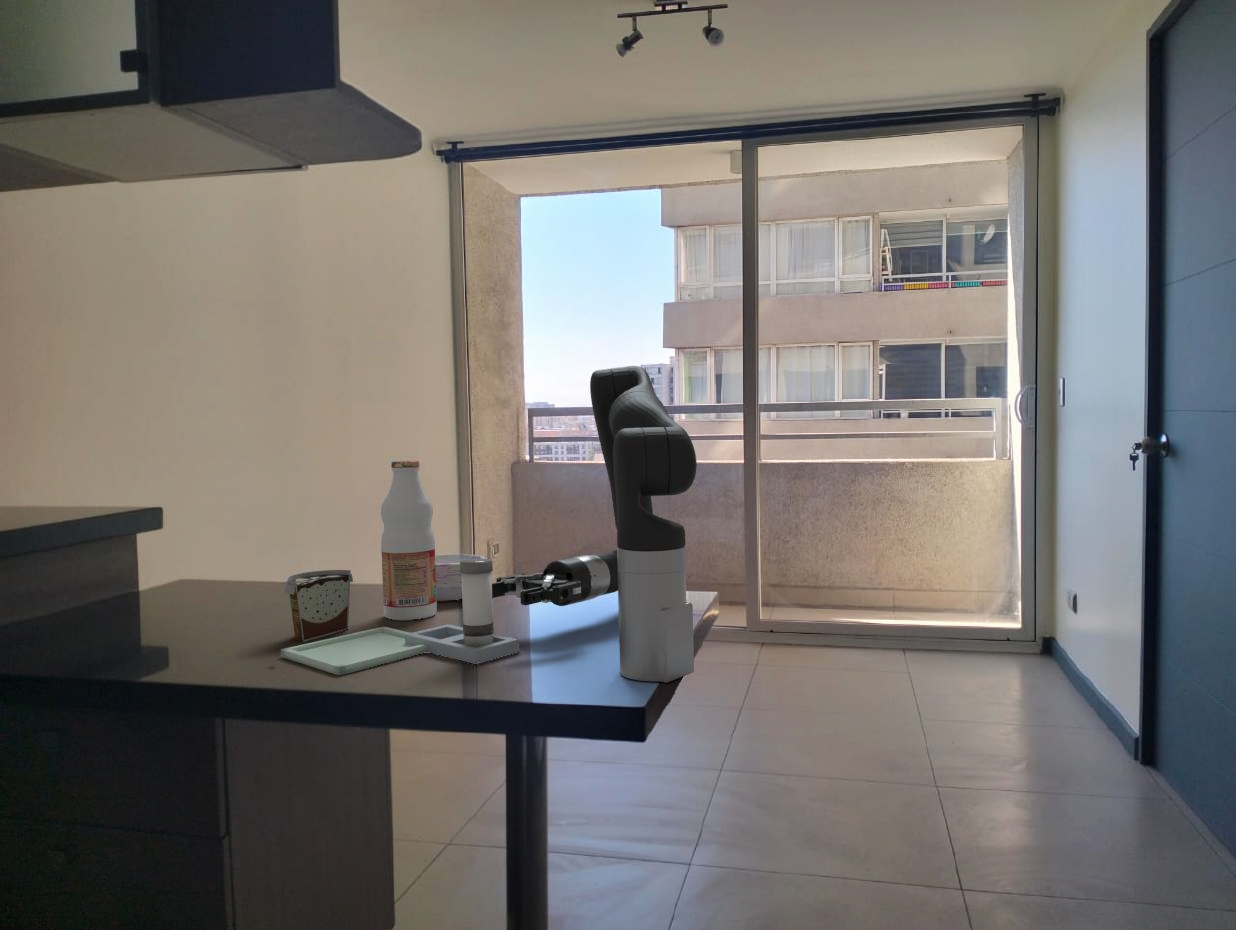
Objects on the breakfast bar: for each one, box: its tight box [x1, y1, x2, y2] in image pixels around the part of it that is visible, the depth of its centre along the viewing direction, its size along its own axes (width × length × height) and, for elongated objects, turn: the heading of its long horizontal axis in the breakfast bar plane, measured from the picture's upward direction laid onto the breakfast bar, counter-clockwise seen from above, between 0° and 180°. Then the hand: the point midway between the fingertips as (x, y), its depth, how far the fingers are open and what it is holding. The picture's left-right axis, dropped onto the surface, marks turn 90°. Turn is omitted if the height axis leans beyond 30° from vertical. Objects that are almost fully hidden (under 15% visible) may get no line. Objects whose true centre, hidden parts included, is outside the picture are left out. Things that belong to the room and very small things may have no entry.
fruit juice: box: [380, 460, 438, 621], centre depth 158 cm, size 9×9×28 cm
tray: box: [280, 626, 427, 676], centre depth 133 cm, size 16×18×1 cm
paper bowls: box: [435, 553, 487, 602], centre depth 175 cm, size 15×15×8 cm
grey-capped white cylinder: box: [460, 558, 495, 648], centre depth 131 cm, size 5×5×14 cm
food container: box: [284, 569, 354, 643], centre depth 146 cm, size 12×6×10 cm, turn 149°
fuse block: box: [405, 623, 520, 664], centre depth 134 cm, size 17×8×2 cm, turn 49°
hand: (503, 595), depth 134 cm, fingers open, 8 cm apart
